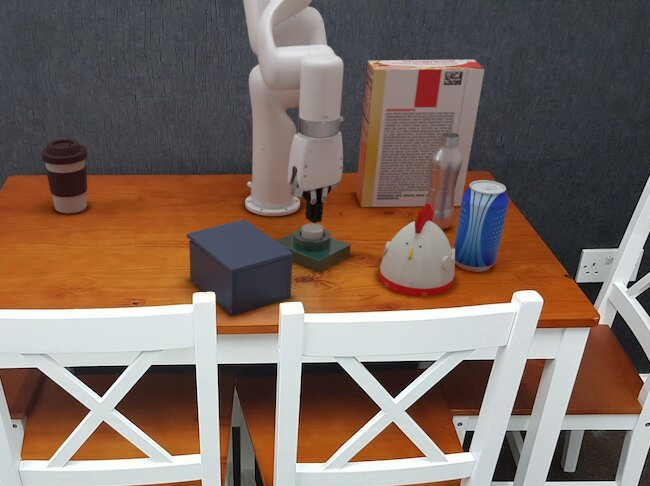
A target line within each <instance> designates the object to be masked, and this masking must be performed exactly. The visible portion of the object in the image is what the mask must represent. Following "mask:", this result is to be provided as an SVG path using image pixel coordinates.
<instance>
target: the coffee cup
mask: <svg viewBox="0 0 650 486" xmlns="http://www.w3.org/2000/svg"><path fill="white" fill-rule="evenodd" d="M40 157H41V160H42V161H43V162H44V163H45V173H46V177H47V178H46V179H47V182H48V187H49V190H50V194H51V196H52V201H53V205H54V209H55V210H56V211H57V212H58V213H61V214H67V215H68V214H69V215H70V214H77V213H80V212H83V211H85V210H86V209H87V207H88V198H87V191H88V176H87V175H88V173H87V164H86V159H87V158H88V149H87V147H86V146H84V145H83V144H80V142H79V141H78V140H77V139H73V138H58V139H54V140H51V141H49V142H48V143H47V145H46V147H43V149H41V151H40Z"/></svg>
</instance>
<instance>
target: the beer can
mask: <svg viewBox="0 0 650 486" xmlns="http://www.w3.org/2000/svg"><path fill="white" fill-rule="evenodd" d="M509 199H510V198H509V197H508V194H507V187H506V186H505V184H503V183H500V182H499V181H495V180H489V179H488V180H487V179H479V180H474V181H472V182H470V183H469V187H468V188H467V189H466V190H465V191H464V192H463V197H462V203H461V206H460V209H459V215H458V220H457V226H456V232H455V238H454V243H453V244H454V245H453V248H455V266H456V267H458V268H460V269H462V270H465V271H468V272H475V273H480V272H486V271H488V270H490V269H491V268H492V266H494V265H495V264H496V263H497V260H498V255H499V250H500V245H501V241H502V235H503V231H504V226H505V222H506V216H507V211H508V208H509V203H510V200H509Z"/></svg>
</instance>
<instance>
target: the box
mask: <svg viewBox="0 0 650 486" xmlns="http://www.w3.org/2000/svg"><path fill="white" fill-rule="evenodd" d="M188 247H189V248H188V249H189V250H188V251H189V252H188V253H189V275H190V276H189V277H190V278H189V279H190V282H191V283H193V284H194V285H195V286H196V287H198V288H199V289H200V290H201V291H202V292H203V293H205V292H207V291H212V292H215V294H216V302H215V303H216V304H217V305H219V306H220V307H221V308H222V309H223V310H224V311H226V312H227V313H228V314H229V315H230V316H231V317H232V316H237V315H239V314H242V313H245V312H246V313H247V312H249V311H253V310H255V309H259V308H263V307H265V306H269V305H272V304H274V303H279V302H281V301H285V300H288V299H292V297H291V295H292V276H293V275H292V274H293V261H292V257H290V258H286V259H283V260H279V261H275V262H272V263H268V264H265V265H261V266H257V267H254V268H250V269H247V270H243V271H239V272H236V273H230V272H229V271H228V270H227V269H225V268H224V267H223V266H222V265H221V264H219V263H218V262H217V261H216V260H214V259H213V258H212V257H211V256H209V255H208V254H207V253H206V252H205V251H203V250H202V249H201V248H200V247H198V246H197V245H196V244H195V243H193V242H192V241H191V240H189V241H188Z"/></svg>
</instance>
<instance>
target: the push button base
mask: <svg viewBox="0 0 650 486" xmlns="http://www.w3.org/2000/svg"><path fill="white" fill-rule="evenodd" d="M301 229H302V227H300V228H297V229H295V230H294V232H292V233H290V234H288V235H285V236H283V237H281V238H279V239H277V240H275V241H276V242H278V243H279V244H280V245H282V246H283V247H285V248H286V249H288V250H289V251H290V252H292V253H293V254H292V263H295V264H298V265H300V266H302V267H304V268H305V267H306V268H307V269H310V270H313V271H315V272H318V273H319V272H322V271H323V270H325V269H327V268H329V267H331V266H333V265H335V264H337V263H338V262H340V261H342V260H344V259H346V258H348V257H350V256H351V244H350V243H348V242H345V241H343V240H340V239H337V238H334V237H332V234H331V232H330V231H329V229H326V228H324V232H323V238H321V239H316V240H311V239H306V238H303V237H301Z"/></svg>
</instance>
